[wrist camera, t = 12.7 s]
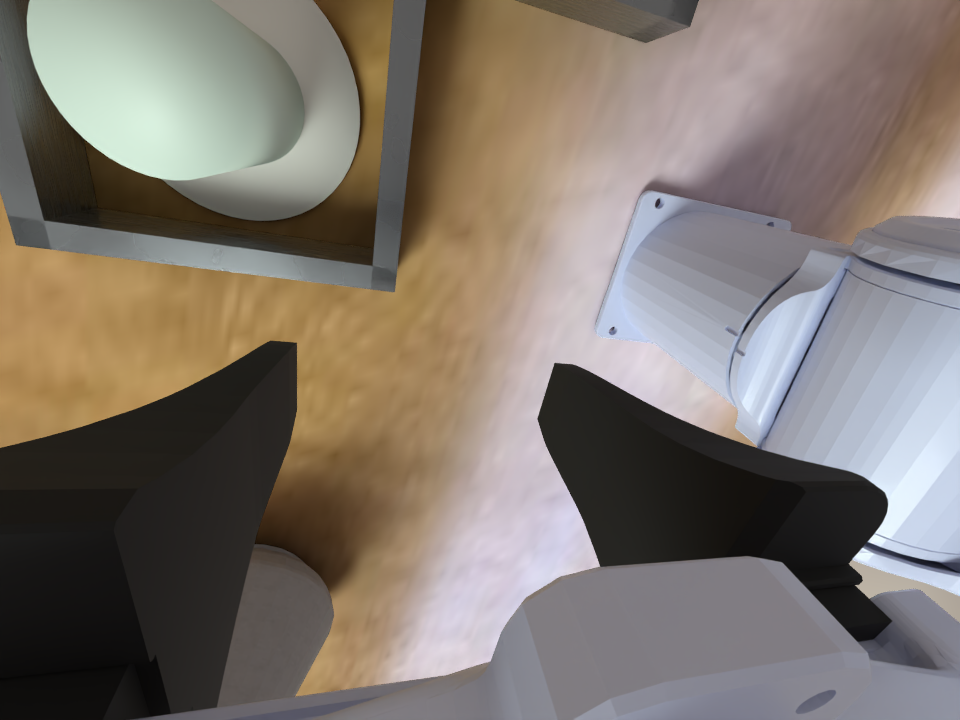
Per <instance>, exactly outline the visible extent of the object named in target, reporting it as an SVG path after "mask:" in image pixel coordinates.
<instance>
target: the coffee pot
mask: <svg viewBox="0 0 960 720" xmlns="http://www.w3.org/2000/svg"><path fill="white" fill-rule="evenodd" d="M333 618H334V611H333V605H332V600H331V596H330V594H329V591H328V588H327V586H326V585H325V583H324V582H323V580H322V579H321V578H320V576H319V575H318V574H317V573H316V572H315V571H314V570H313V569H311V568H310V567H309V566H307V565H306V564H305V563H304V562H303V561H302V560H301V559H300V558H298V557H297V556H296V555H294V554H293V553H291V552H288V551H286V550H284V549H281V548H278V547H273V546H269V545H264V544H254V547H253V551H252V555H251V559H250V563H249V567H248V571H247V575H246V580H245V584H244V588H243V592H242V596H241V601H240V605H239V609H238V613H237V618H236V622H235V626H234V631H233V635H232V640H231V644H230V649H229V653H228V658H227V662H226V667H225V671H224V676H223V681H222V685H221V690H220V695H219V700H218V705H217V708H218V707H225V706H232V705H239V704H246V703H253V702H260V701H268V700H275V699H282V698H289V697H295V695H296V694H297V692H298V690H299V688H300V686H301V684H302V682H303V681H304V679H305V677H306V675H307V673H308V671H309V670H310V668H311V666H312V664H313V662H314V660H315V658H316V657H317V655H318V653H319V651H320V649H321V647H322V645H323V644H324V642H325V640H326V638H327V636H328V634H329V632H330V629H331V625H332V621H333Z"/></svg>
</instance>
